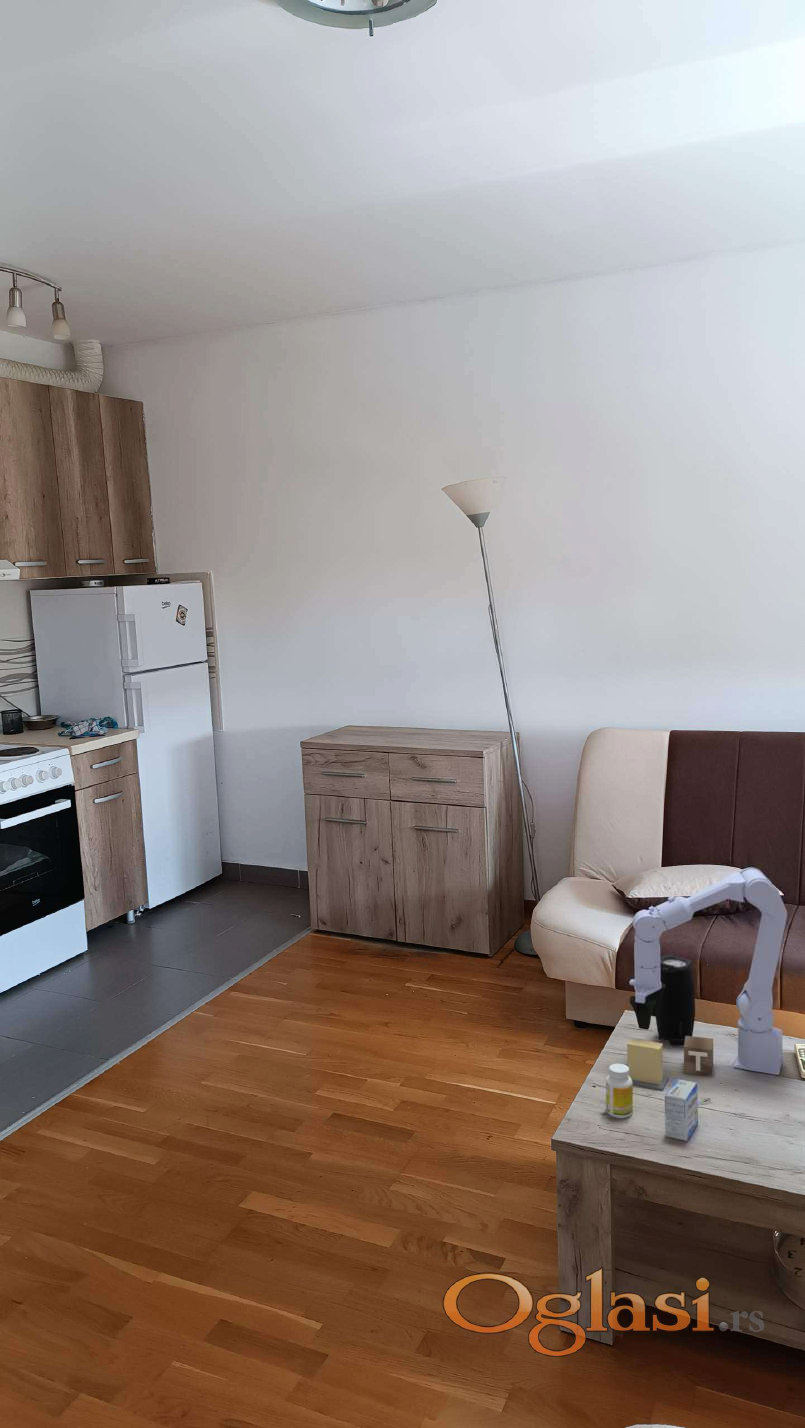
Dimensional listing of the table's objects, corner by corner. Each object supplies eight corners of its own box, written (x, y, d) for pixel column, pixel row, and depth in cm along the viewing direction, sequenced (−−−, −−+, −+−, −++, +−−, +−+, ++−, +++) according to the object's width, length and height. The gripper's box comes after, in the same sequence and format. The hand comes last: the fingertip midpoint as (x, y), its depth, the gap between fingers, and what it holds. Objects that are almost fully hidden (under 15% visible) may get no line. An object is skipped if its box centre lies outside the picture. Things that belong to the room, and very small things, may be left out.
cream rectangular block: (662, 1078, 215) (662, 1043, 214) (659, 1084, 212) (659, 1049, 212) (631, 1072, 218) (630, 1038, 217) (627, 1078, 216) (627, 1043, 215)
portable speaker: (656, 1030, 241) (655, 952, 239) (696, 1034, 238) (695, 956, 236) (653, 1044, 233) (652, 964, 231) (694, 1049, 230) (694, 968, 228)
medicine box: (687, 1142, 190) (686, 1099, 189) (664, 1136, 193) (664, 1094, 192) (698, 1124, 197) (698, 1082, 196) (676, 1118, 199) (675, 1077, 198)
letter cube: (713, 1064, 222) (713, 1038, 221) (712, 1076, 216) (712, 1050, 216) (685, 1061, 224) (685, 1035, 223) (684, 1073, 218) (683, 1047, 218)
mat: (668, 1078, 216) (668, 1076, 216) (662, 1090, 211) (662, 1088, 211) (628, 1071, 220) (628, 1069, 220) (621, 1083, 215) (621, 1080, 215)
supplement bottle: (600, 1112, 203) (600, 1067, 202) (617, 1103, 206) (616, 1059, 205) (621, 1121, 199) (621, 1076, 198) (638, 1112, 202) (637, 1067, 201)
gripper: (637, 951, 230) (638, 1007, 232) (621, 972, 218) (622, 1031, 219) (668, 955, 227) (668, 1012, 229) (653, 976, 214) (654, 1036, 216)
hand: (648, 1022), depth 224 cm, fingers open, 7 cm apart
